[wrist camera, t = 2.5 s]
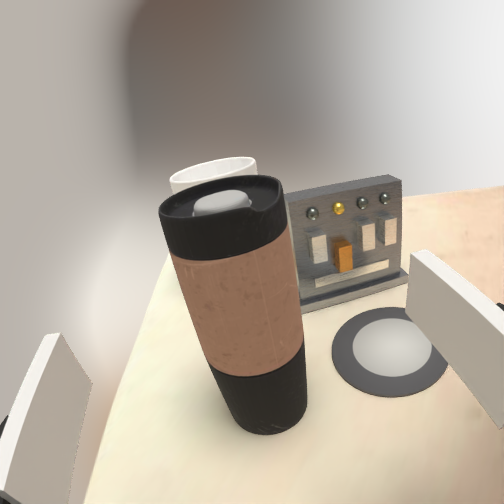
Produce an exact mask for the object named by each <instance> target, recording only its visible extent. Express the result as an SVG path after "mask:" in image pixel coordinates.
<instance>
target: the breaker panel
mask: <svg viewBox="0 0 504 504" xmlns="http://www.w3.org/2000/svg"><path fill="white" fill-rule="evenodd" d="M284 200H285V206H286V212H287V219H288V225H289V232H290V238H291V245H292V251H293V258H294V265H295V272H296V279H297V286H298V293H299V301H300V308H301V314H304V313H308V312H311V311H315V310H318V309H322V308H326V307H329V306H333V305H336V304H340V303H343V302H347V301H350V300H353V299H357V298H360V297H363V296H367V295H370V294H373V293H376V292H380V291H383V290H386V289H389V288H392V287H395V286H398V285H401V284H404V283H407V282H408V276H409V275H408V274H407V273H406V272H405V271H404V270H403V269H402V268H401V267H400V264H401V239H402V185H401V180H400V179H397V178H395V177H393V176H391V175H382V176H377V177H371V178H365V179H360V180H355V181H349V182H344V183H338V184H333V185H328V186H322V187H317V188H312V189H307V190H302V191H298V192H292V193H287V194H284Z"/></svg>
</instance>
